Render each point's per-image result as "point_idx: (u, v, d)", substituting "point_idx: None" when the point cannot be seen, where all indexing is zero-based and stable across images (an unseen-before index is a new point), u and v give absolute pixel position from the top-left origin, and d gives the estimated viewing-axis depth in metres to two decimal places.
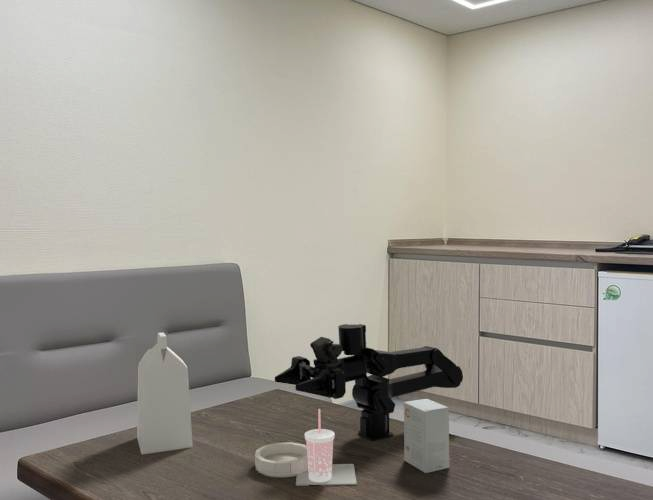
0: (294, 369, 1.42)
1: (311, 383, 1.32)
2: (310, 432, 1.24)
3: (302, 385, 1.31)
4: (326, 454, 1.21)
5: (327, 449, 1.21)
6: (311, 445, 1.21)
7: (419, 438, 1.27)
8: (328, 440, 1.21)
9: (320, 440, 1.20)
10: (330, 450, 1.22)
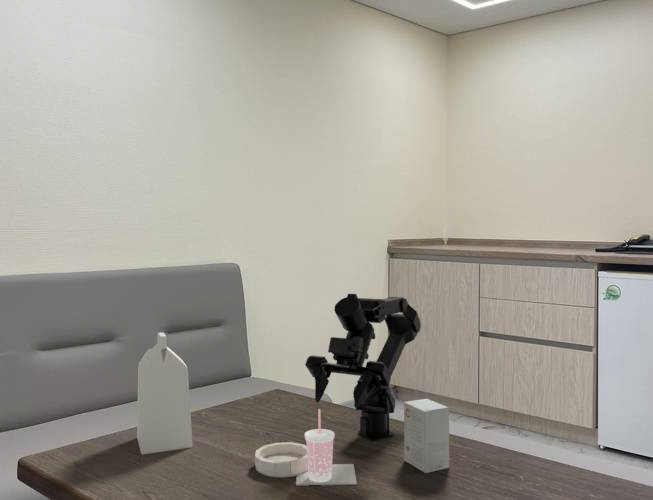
0: (321, 376, 1.34)
1: (364, 392, 1.29)
2: (310, 432, 1.24)
3: (359, 400, 1.28)
4: (326, 454, 1.21)
5: (327, 449, 1.21)
6: (311, 445, 1.21)
7: (419, 438, 1.27)
8: (328, 440, 1.21)
9: (320, 440, 1.20)
10: (330, 450, 1.22)
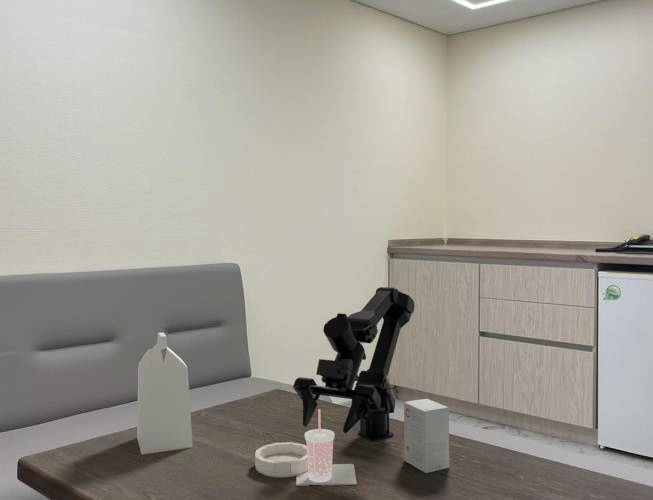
0: (309, 399, 1.29)
1: (353, 417, 1.24)
2: (310, 432, 1.24)
3: (348, 425, 1.23)
4: (326, 454, 1.21)
5: (327, 449, 1.21)
6: (311, 445, 1.21)
7: (419, 438, 1.27)
8: (328, 440, 1.21)
9: (320, 440, 1.20)
10: (330, 450, 1.22)
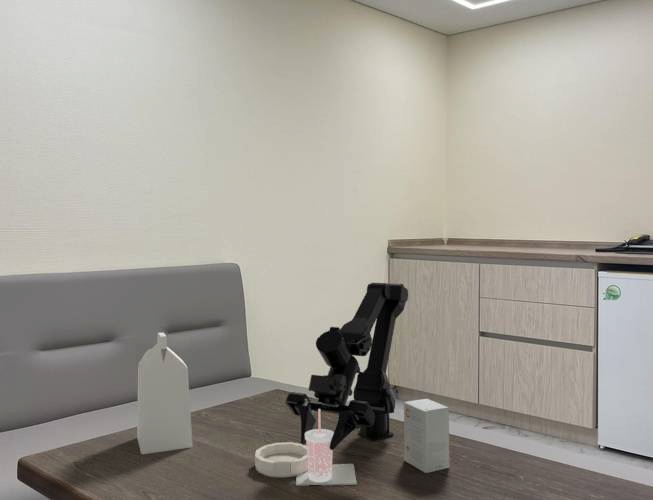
0: (307, 416, 1.26)
1: (340, 433, 1.21)
2: (310, 432, 1.24)
3: (334, 442, 1.21)
4: (326, 454, 1.21)
5: (327, 449, 1.21)
6: (311, 445, 1.21)
7: (419, 438, 1.27)
8: (328, 440, 1.21)
9: (320, 440, 1.20)
10: (330, 450, 1.22)
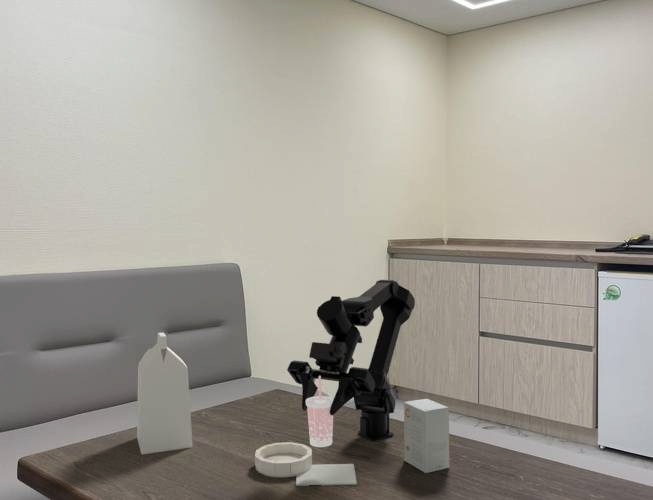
0: (309, 383, 1.28)
1: (340, 399, 1.24)
2: (311, 399, 1.26)
3: (334, 407, 1.23)
4: (326, 420, 1.23)
5: (327, 414, 1.23)
6: (311, 410, 1.23)
7: (419, 438, 1.27)
8: (328, 406, 1.23)
9: (320, 405, 1.22)
10: (330, 416, 1.24)
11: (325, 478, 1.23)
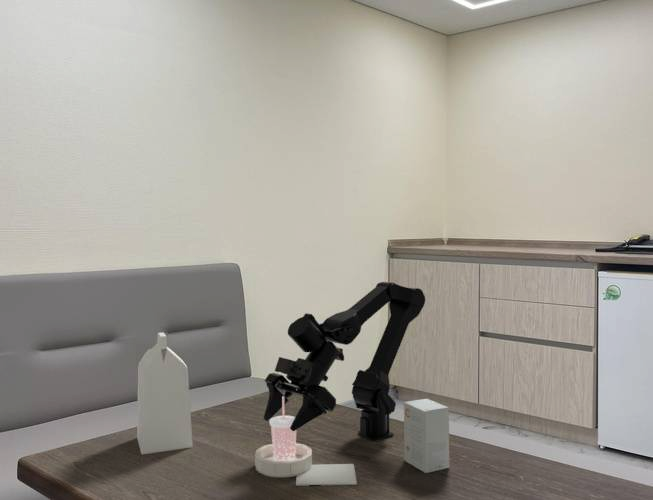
0: (274, 395, 1.34)
1: (302, 416, 1.26)
2: (278, 417, 1.32)
3: (295, 424, 1.25)
4: (284, 439, 1.27)
5: (286, 434, 1.27)
6: (272, 429, 1.29)
7: (419, 438, 1.27)
8: (286, 426, 1.27)
9: (278, 425, 1.27)
10: (290, 436, 1.28)
11: (325, 478, 1.23)
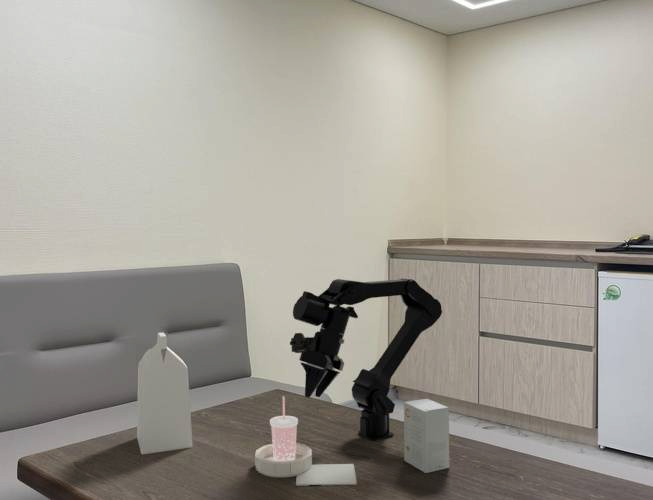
0: None
1: (308, 382, 1.35)
2: (278, 417, 1.32)
3: (306, 390, 1.35)
4: (285, 439, 1.27)
5: (286, 435, 1.27)
6: (272, 429, 1.29)
7: (419, 438, 1.27)
8: (286, 426, 1.27)
9: (278, 425, 1.27)
10: (290, 436, 1.28)
11: (325, 478, 1.23)
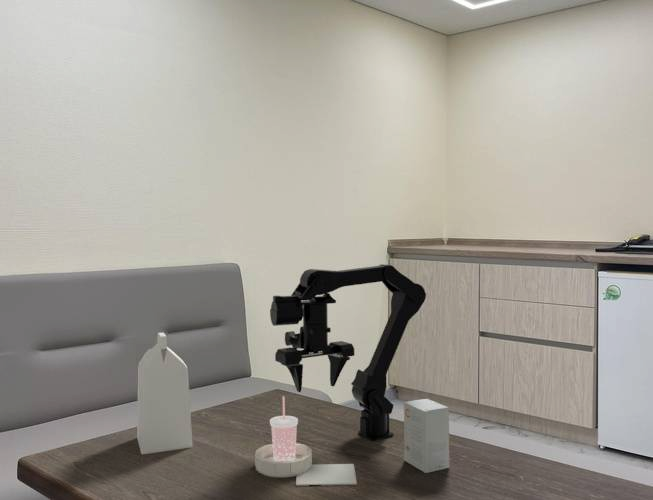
0: (330, 362, 1.47)
1: (293, 378, 1.41)
2: (278, 417, 1.32)
3: (295, 386, 1.41)
4: (285, 439, 1.27)
5: (286, 435, 1.27)
6: (272, 429, 1.29)
7: (419, 438, 1.27)
8: (286, 426, 1.27)
9: (278, 425, 1.27)
10: (290, 436, 1.28)
11: (325, 478, 1.23)
